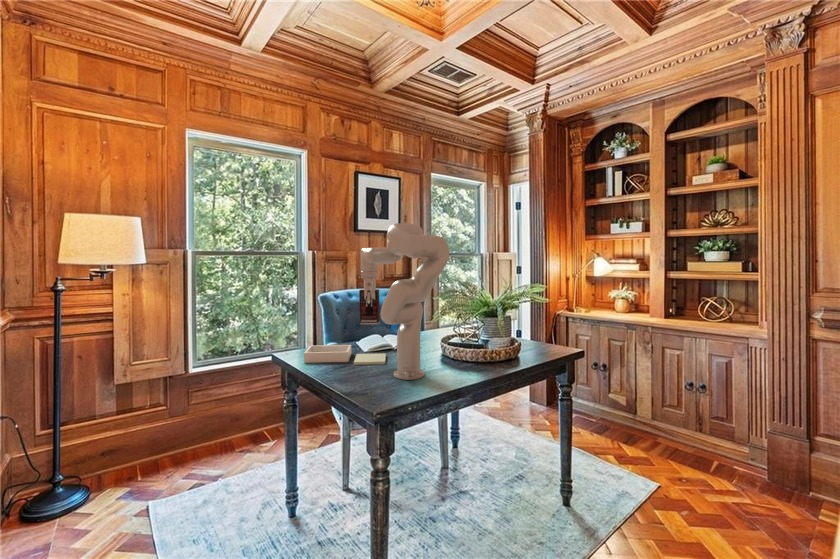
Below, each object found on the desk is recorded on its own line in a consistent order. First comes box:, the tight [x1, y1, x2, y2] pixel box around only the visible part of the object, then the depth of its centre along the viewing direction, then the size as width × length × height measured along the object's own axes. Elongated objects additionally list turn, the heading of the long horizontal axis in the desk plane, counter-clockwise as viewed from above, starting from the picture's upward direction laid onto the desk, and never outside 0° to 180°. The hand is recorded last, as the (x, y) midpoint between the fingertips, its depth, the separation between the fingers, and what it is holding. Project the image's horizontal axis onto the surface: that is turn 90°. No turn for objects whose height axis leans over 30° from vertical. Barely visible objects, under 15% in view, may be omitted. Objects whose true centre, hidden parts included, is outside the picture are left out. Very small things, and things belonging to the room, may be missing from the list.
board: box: [353, 352, 387, 366], centre depth 190 cm, size 14×14×1 cm
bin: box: [303, 344, 352, 364], centre depth 193 cm, size 14×20×4 cm
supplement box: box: [358, 288, 381, 326], centre depth 188 cm, size 9×5×16 cm, turn 84°
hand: (369, 313), depth 188 cm, fingers closed on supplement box, 5 cm apart
